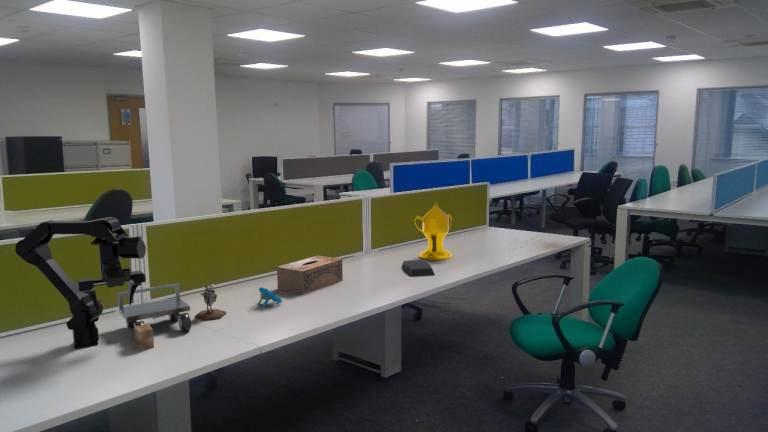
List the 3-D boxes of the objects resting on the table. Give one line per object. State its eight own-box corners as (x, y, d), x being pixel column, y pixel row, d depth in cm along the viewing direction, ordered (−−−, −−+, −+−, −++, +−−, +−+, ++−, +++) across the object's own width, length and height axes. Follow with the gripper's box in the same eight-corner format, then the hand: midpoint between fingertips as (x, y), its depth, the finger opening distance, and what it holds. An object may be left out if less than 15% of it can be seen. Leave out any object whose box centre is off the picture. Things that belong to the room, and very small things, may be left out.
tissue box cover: (318, 276, 260) (317, 255, 258) (342, 281, 252) (342, 259, 250) (277, 289, 239) (276, 266, 237) (303, 295, 231) (302, 271, 229)
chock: (140, 350, 172) (138, 331, 172) (136, 344, 177) (134, 326, 176) (154, 347, 175) (152, 329, 174) (149, 341, 180) (148, 323, 179)
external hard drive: (426, 266, 278) (426, 258, 277) (436, 276, 259) (436, 267, 259) (400, 267, 276) (400, 259, 275) (408, 277, 257) (408, 269, 256)
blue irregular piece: (287, 301, 216) (268, 286, 211) (279, 314, 213) (260, 299, 208) (273, 299, 224) (254, 284, 219) (264, 311, 222) (246, 297, 217)
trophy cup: (406, 256, 300) (405, 203, 295) (442, 250, 312) (443, 200, 308) (425, 262, 285) (425, 207, 281) (463, 256, 297) (463, 203, 293)
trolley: (132, 344, 177) (129, 306, 175) (120, 327, 193) (117, 292, 191) (196, 331, 188) (194, 295, 187) (180, 316, 204) (178, 283, 203)
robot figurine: (190, 316, 204) (188, 284, 202) (211, 310, 212) (210, 278, 210) (208, 322, 198) (206, 289, 196) (230, 315, 205) (229, 283, 203)
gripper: (79, 267, 162) (84, 320, 164) (148, 259, 172) (151, 308, 175) (74, 260, 171) (78, 310, 173) (140, 252, 182) (143, 299, 184)
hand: (113, 307), depth 176 cm, fingers open, 9 cm apart
